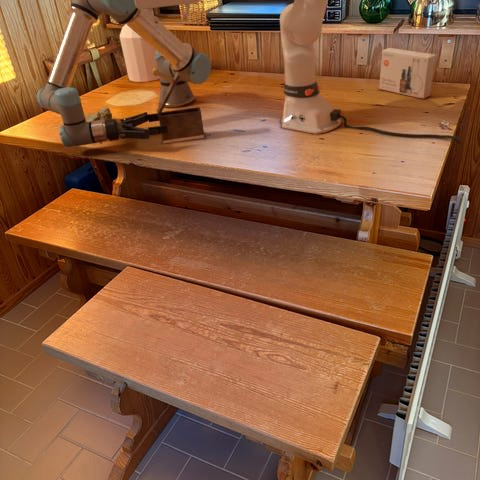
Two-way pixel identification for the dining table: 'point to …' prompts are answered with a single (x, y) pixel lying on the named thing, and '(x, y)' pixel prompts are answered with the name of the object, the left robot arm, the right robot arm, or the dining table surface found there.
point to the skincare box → (407, 72)
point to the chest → (182, 124)
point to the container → (138, 56)
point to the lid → (170, 89)
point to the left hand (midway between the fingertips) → (166, 122)
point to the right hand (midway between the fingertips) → (171, 21)
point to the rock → (100, 115)
